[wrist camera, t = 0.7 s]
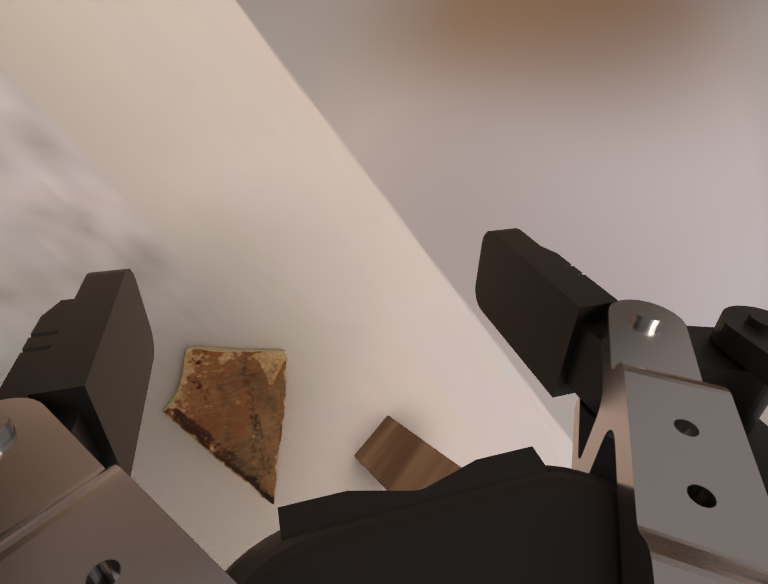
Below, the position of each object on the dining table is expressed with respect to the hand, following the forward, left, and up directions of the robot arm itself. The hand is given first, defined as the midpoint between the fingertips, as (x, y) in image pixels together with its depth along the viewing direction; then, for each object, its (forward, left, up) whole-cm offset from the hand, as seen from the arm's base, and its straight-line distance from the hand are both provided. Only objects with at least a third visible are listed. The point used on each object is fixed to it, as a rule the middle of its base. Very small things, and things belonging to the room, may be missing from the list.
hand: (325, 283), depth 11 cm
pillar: (+19, -1, -22) cm, 29 cm away
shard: (+8, -5, -23) cm, 25 cm away
